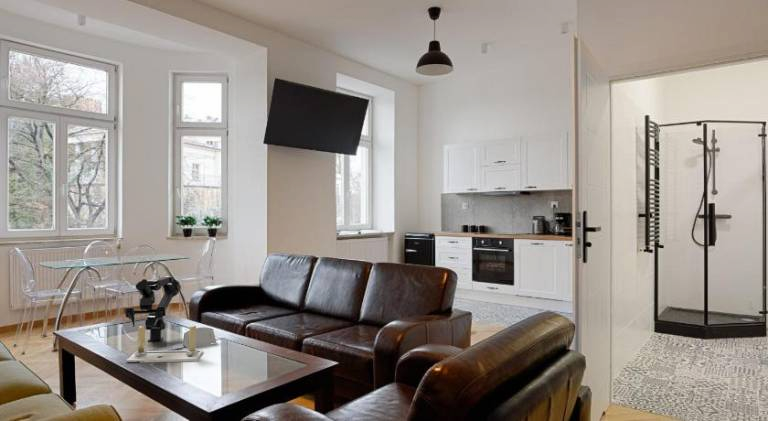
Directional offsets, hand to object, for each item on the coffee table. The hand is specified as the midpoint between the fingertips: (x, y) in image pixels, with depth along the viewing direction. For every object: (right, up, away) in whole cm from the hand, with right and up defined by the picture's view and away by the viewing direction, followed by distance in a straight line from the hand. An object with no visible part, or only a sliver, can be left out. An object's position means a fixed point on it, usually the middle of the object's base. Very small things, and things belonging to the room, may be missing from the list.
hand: (143, 326), depth 236 cm
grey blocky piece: (+21, -15, +18) cm, 31 cm away
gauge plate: (+14, -14, -5) cm, 21 cm away
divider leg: (+2, -12, -8) cm, 15 cm away
